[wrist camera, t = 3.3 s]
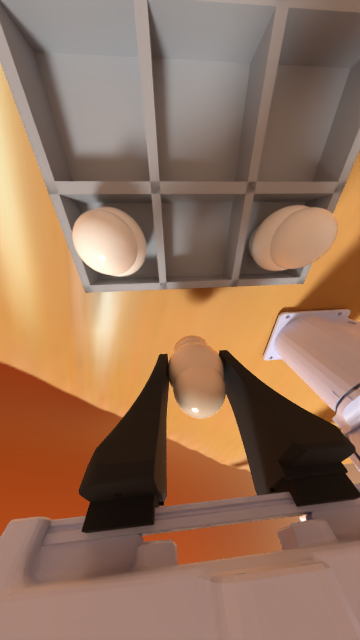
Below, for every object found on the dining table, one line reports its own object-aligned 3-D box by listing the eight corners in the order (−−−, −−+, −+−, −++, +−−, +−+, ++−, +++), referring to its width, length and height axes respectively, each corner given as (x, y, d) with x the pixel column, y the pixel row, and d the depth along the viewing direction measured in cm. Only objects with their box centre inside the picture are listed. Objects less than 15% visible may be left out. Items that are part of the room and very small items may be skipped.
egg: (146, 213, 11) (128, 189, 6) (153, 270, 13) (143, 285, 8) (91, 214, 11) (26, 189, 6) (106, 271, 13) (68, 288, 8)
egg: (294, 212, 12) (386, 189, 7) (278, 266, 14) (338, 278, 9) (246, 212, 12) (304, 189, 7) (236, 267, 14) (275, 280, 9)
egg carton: (353, 62, 9) (426, -9, 6) (281, 277, 15) (303, 283, 13) (26, 45, 8) (-41, -49, 5) (99, 284, 14) (85, 292, 12)
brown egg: (216, 328, 12) (249, 388, 7) (211, 364, 14) (234, 429, 9) (166, 331, 12) (164, 395, 7) (169, 367, 14) (169, 435, 9)
